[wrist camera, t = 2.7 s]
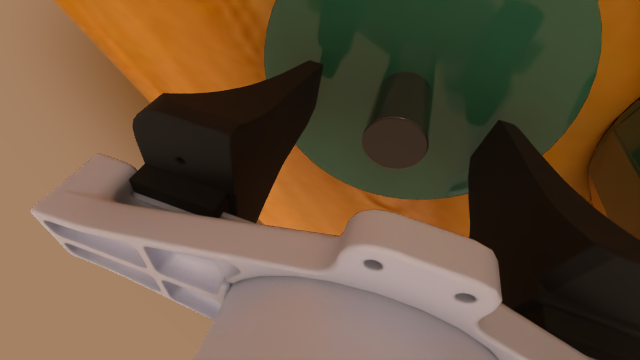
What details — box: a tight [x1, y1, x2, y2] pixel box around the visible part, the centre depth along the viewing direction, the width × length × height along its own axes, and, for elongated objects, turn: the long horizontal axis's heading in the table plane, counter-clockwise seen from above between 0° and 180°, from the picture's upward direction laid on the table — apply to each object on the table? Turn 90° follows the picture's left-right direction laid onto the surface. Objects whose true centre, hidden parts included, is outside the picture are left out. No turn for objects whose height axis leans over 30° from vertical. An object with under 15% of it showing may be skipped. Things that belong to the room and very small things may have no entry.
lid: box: [264, 0, 602, 200], centre depth 13 cm, size 13×13×4 cm
